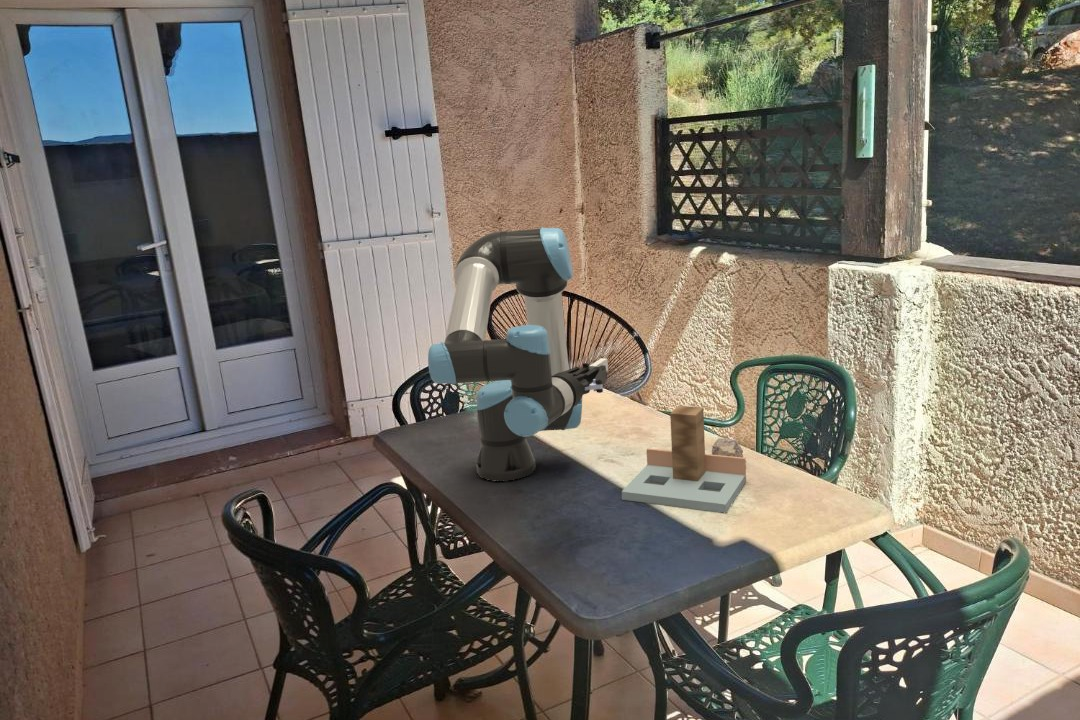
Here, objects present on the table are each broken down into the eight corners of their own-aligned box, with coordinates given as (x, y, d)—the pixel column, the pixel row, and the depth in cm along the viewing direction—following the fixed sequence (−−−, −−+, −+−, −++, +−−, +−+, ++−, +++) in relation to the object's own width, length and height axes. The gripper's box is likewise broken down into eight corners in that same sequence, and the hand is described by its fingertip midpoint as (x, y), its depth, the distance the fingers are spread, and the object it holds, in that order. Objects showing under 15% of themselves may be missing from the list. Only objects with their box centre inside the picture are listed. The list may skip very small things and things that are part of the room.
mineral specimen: (754, 474, 195) (753, 449, 193) (725, 477, 194) (724, 453, 193) (734, 455, 207) (733, 432, 206) (707, 459, 206) (706, 436, 205)
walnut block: (673, 478, 191) (670, 413, 187) (681, 469, 196) (678, 405, 192) (698, 481, 188) (695, 415, 184) (705, 471, 193) (703, 407, 189)
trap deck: (622, 499, 186) (620, 475, 185) (648, 471, 202) (647, 448, 200) (726, 513, 175) (725, 487, 174) (746, 481, 190) (745, 457, 189)
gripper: (529, 411, 163) (578, 379, 183) (589, 415, 157) (633, 382, 177) (526, 375, 161) (576, 346, 181) (586, 378, 155) (631, 348, 175)
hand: (604, 364), depth 179 cm, fingers closed
